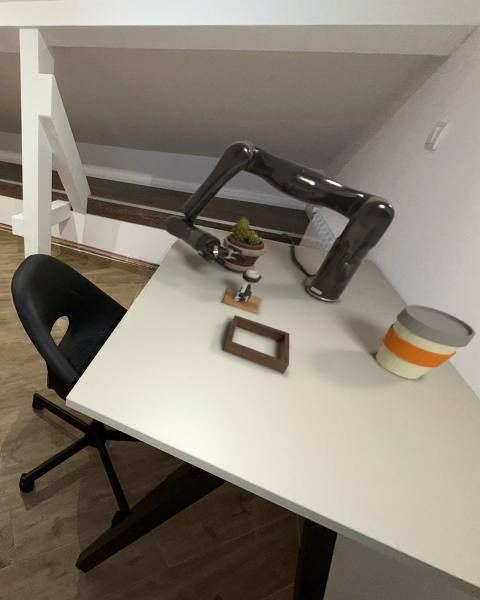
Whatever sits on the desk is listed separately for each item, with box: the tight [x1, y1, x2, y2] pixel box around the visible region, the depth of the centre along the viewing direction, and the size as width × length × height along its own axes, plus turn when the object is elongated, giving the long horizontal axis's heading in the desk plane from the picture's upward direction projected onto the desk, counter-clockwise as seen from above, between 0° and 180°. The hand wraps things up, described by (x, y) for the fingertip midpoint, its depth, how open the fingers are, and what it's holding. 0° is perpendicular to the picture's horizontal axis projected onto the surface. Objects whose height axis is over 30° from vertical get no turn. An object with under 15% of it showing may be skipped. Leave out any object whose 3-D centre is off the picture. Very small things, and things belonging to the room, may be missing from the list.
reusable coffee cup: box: [375, 304, 476, 380], centre depth 76 cm, size 13×13×15 cm
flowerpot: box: [222, 217, 267, 274], centre depth 115 cm, size 14×15×20 cm
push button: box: [235, 269, 263, 302], centre depth 98 cm, size 7×5×10 cm
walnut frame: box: [223, 314, 290, 374], centre depth 82 cm, size 14×14×3 cm
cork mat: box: [222, 287, 260, 314], centre depth 101 cm, size 10×10×1 cm
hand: (235, 262), depth 101 cm, fingers open, 8 cm apart
